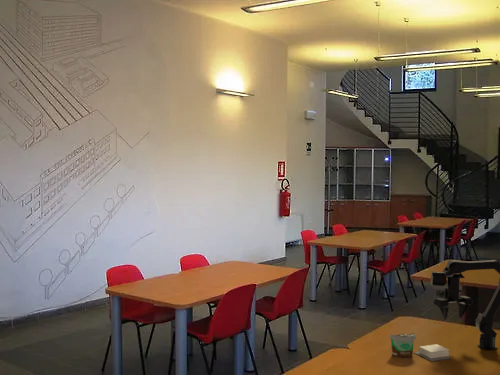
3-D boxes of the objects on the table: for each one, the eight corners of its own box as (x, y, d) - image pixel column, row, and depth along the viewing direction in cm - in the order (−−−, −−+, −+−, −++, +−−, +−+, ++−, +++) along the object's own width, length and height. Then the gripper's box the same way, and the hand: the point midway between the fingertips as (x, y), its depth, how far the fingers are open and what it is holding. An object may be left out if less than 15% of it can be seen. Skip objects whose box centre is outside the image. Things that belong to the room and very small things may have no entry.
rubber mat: (432, 350, 255) (432, 349, 255) (450, 358, 244) (450, 357, 244) (413, 352, 251) (413, 352, 251) (430, 361, 240) (430, 360, 240)
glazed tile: (437, 344, 253) (419, 346, 250) (448, 349, 246) (430, 352, 242) (436, 350, 253) (419, 353, 250) (448, 356, 246) (430, 358, 242)
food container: (396, 360, 241) (396, 337, 241) (389, 355, 247) (389, 333, 247) (420, 357, 245) (421, 335, 244) (413, 353, 250) (413, 331, 250)
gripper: (457, 282, 271) (456, 313, 272) (426, 284, 265) (425, 316, 265) (473, 286, 261) (472, 318, 262) (442, 289, 254) (441, 322, 255)
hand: (452, 318), depth 261 cm, fingers open, 9 cm apart
